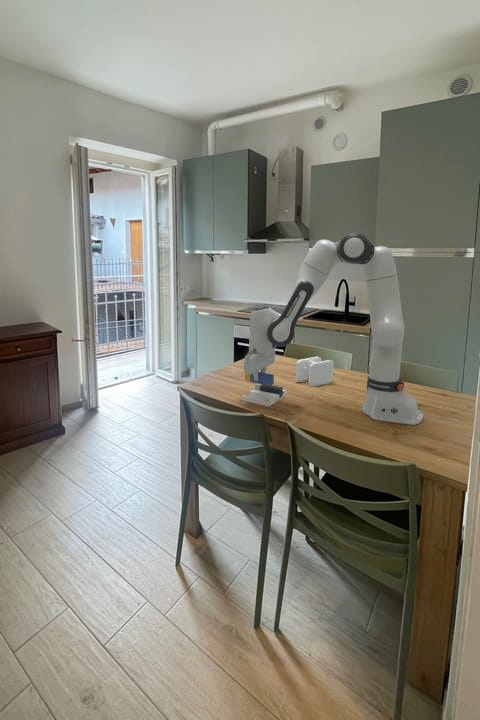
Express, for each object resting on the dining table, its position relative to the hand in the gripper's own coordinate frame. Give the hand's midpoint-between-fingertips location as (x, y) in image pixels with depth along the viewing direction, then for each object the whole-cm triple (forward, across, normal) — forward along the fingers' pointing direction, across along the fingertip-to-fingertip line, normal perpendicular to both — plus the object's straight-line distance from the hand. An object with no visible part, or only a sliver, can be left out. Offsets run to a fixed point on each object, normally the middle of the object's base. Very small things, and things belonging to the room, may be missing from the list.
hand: (259, 378), depth 168 cm
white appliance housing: (+10, +4, 0) cm, 11 cm away
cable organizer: (+11, +36, -10) cm, 39 cm away
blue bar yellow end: (+2, 0, 0) cm, 2 cm away
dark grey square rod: (+10, +8, 0) cm, 12 cm away
